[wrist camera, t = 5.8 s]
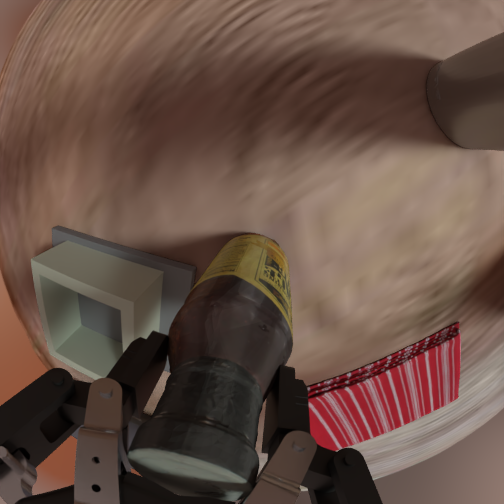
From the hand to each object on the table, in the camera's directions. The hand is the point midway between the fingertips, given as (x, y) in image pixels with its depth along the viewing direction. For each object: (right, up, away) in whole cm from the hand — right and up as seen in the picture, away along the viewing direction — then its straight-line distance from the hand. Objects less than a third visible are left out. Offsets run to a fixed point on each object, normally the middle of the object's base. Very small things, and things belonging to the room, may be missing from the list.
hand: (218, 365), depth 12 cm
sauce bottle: (+2, +4, +13) cm, 14 cm away
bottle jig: (-14, 0, +16) cm, 21 cm away
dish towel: (+19, -14, +18) cm, 30 cm away
